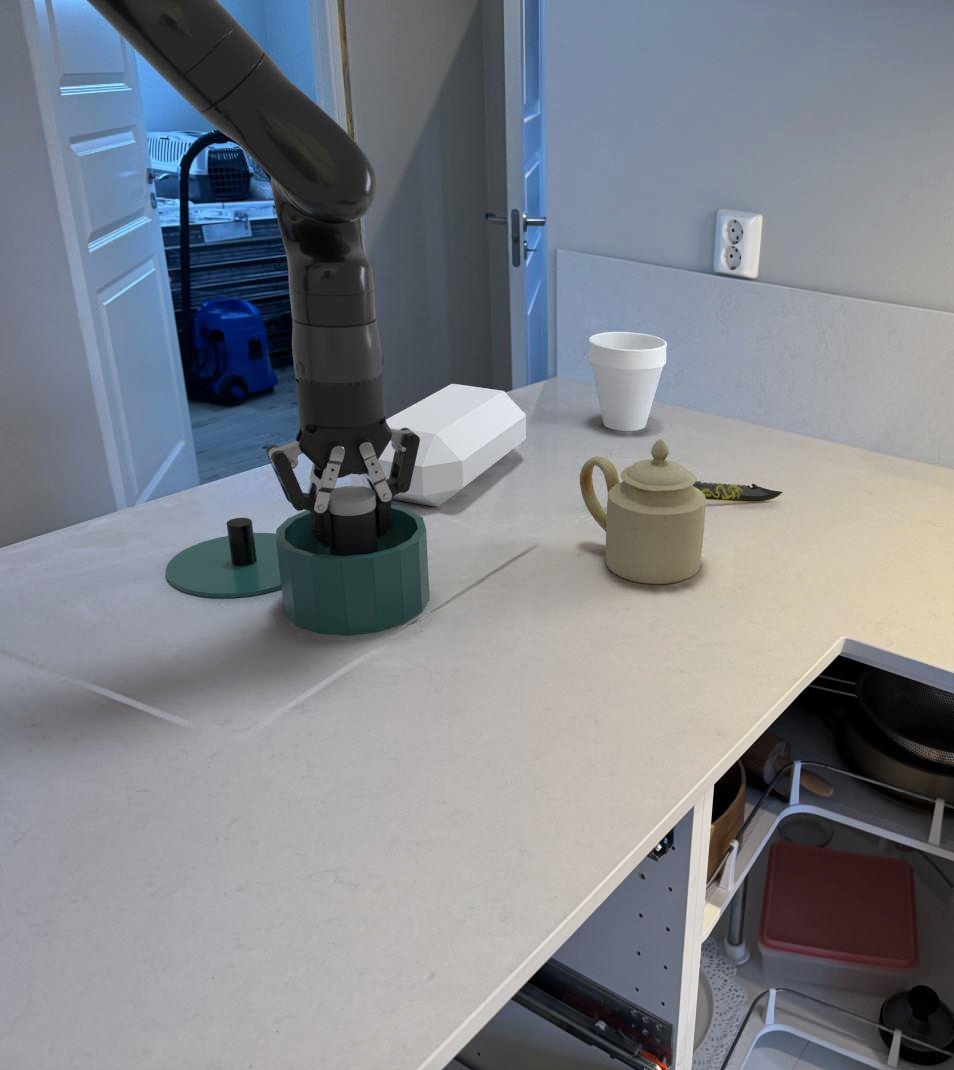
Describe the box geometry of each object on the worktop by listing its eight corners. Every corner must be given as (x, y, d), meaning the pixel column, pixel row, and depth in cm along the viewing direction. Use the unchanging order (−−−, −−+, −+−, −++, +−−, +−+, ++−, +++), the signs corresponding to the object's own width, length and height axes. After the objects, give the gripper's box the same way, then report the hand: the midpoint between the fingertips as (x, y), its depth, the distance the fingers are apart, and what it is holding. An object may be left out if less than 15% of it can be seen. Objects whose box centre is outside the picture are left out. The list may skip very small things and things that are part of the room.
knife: (775, 514, 136) (783, 480, 134) (779, 519, 134) (787, 485, 133) (609, 505, 128) (615, 469, 126) (612, 509, 126) (617, 473, 125)
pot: (253, 616, 96) (243, 537, 92) (352, 564, 108) (346, 492, 104) (365, 654, 91) (358, 571, 88) (456, 595, 103) (453, 520, 100)
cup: (631, 442, 152) (635, 354, 146) (570, 424, 157) (571, 338, 152) (677, 424, 161) (683, 341, 156) (618, 408, 167) (621, 327, 161)
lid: (134, 580, 101) (125, 530, 98) (248, 531, 113) (242, 485, 111) (242, 616, 96) (235, 564, 94) (349, 561, 108) (345, 514, 106)
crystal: (334, 429, 118) (442, 374, 143) (340, 504, 122) (444, 437, 147) (447, 446, 116) (536, 387, 141) (449, 522, 120) (536, 451, 145)
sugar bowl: (562, 576, 109) (564, 447, 103) (581, 536, 119) (583, 416, 113) (697, 589, 108) (707, 460, 102) (704, 547, 118) (713, 428, 112)
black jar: (319, 558, 96) (313, 496, 93) (352, 542, 100) (348, 482, 97) (356, 569, 94) (352, 507, 92) (389, 552, 98) (385, 492, 96)
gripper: (401, 351, 96) (410, 512, 103) (244, 365, 88) (265, 539, 95) (431, 370, 91) (438, 539, 98) (266, 387, 83) (287, 570, 90)
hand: (353, 538), depth 96 cm, fingers closed on black jar, 4 cm apart
